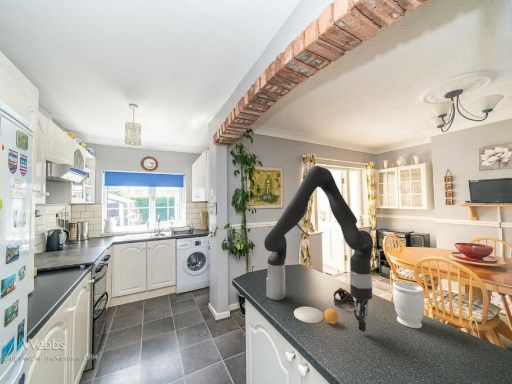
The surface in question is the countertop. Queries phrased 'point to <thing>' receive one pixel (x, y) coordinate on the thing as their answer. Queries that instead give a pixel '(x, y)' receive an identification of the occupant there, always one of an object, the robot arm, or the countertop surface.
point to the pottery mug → (343, 297)
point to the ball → (331, 316)
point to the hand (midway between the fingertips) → (362, 330)
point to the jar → (408, 303)
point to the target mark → (308, 314)
